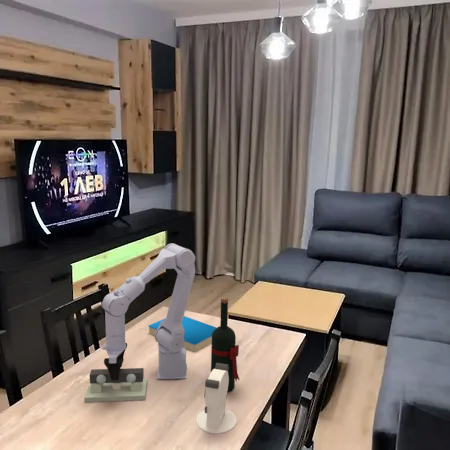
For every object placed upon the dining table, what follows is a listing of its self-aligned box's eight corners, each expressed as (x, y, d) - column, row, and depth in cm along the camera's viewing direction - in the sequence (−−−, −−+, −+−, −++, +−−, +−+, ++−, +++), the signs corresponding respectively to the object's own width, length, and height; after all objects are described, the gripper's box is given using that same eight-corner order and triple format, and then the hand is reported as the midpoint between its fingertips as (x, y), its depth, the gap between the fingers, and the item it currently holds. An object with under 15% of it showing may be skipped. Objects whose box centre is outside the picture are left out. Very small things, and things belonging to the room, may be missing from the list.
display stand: (147, 382, 146) (147, 370, 145) (145, 400, 136) (144, 388, 135) (90, 383, 144) (90, 372, 143) (84, 402, 134) (83, 390, 133)
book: (195, 344, 165) (147, 324, 179) (195, 354, 166) (147, 334, 180) (223, 328, 178) (177, 311, 193) (222, 338, 179) (176, 321, 194)
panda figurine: (204, 404, 134) (205, 358, 131) (241, 411, 132) (242, 364, 128) (190, 429, 123) (191, 379, 120) (230, 437, 120) (231, 387, 117)
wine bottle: (229, 399, 137) (232, 307, 131) (205, 387, 144) (206, 298, 137) (245, 388, 143) (248, 300, 137) (221, 377, 149) (223, 292, 143)
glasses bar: (143, 376, 141) (143, 368, 141) (142, 382, 138) (142, 374, 137) (91, 378, 140) (91, 369, 139) (89, 384, 136) (89, 375, 136)
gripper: (105, 322, 142) (107, 361, 145) (97, 343, 128) (99, 386, 131) (128, 322, 143) (129, 361, 146) (122, 343, 129) (123, 385, 132)
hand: (116, 373), depth 139 cm, fingers open, 7 cm apart
